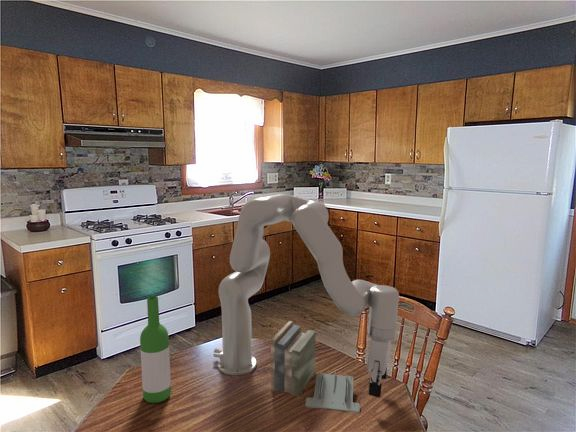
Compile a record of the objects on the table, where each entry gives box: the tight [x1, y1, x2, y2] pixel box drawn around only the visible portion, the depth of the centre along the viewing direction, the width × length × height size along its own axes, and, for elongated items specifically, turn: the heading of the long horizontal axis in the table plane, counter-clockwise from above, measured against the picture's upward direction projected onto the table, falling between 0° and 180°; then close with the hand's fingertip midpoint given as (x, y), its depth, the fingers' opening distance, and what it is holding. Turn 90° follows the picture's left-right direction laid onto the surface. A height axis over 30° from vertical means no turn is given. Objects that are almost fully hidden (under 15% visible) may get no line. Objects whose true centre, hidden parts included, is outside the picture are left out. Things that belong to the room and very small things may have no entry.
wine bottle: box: [139, 295, 172, 404], centre depth 115 cm, size 8×8×30 cm
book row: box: [270, 320, 317, 398], centre depth 124 cm, size 9×14×16 cm, turn 158°
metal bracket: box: [304, 370, 361, 414], centre depth 117 cm, size 14×6×15 cm
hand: (377, 386), depth 115 cm, fingers open, 9 cm apart
